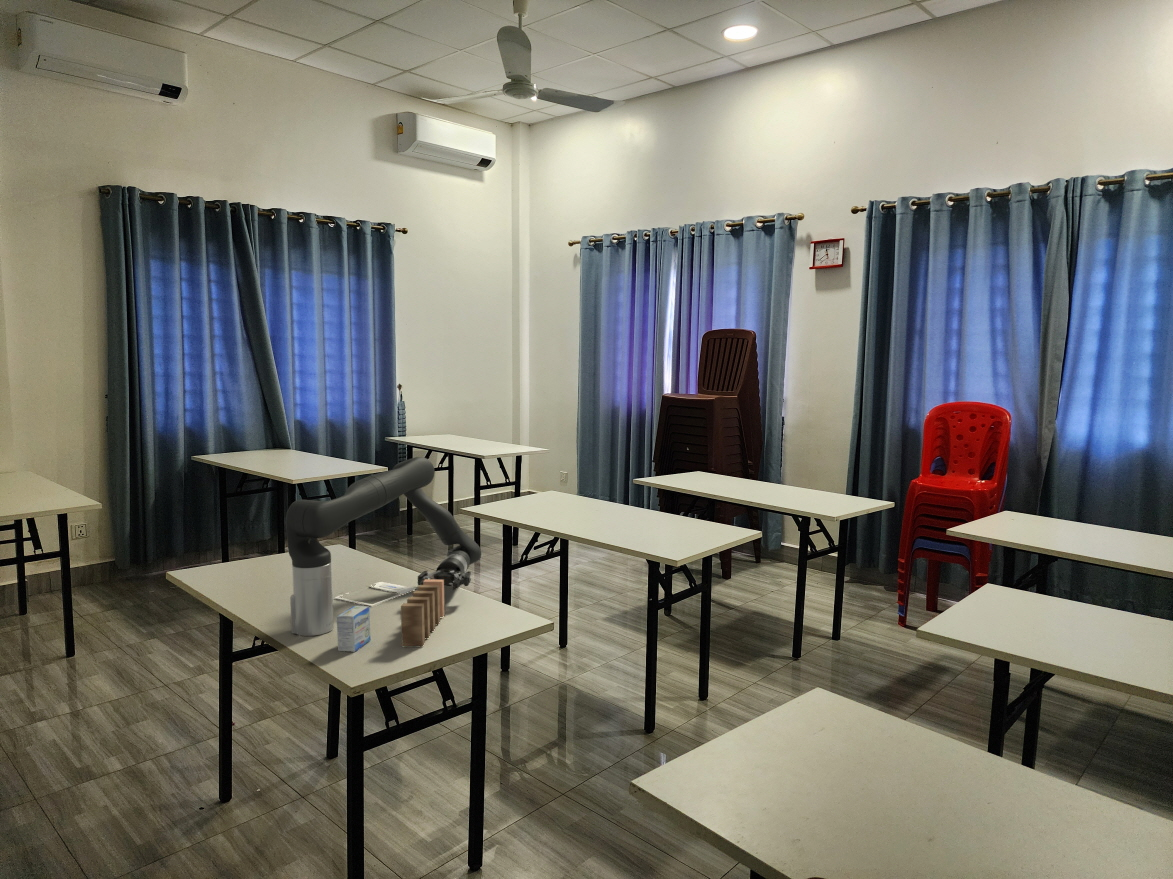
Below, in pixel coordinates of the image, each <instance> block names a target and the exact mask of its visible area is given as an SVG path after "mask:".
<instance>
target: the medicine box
mask: <svg viewBox="0 0 1173 879" xmlns="http://www.w3.org/2000/svg"><path fill="white" fill-rule="evenodd" d="M370 614H371V613H370V607H369V606H364V605H354V606H352V607H350V608H349V609H347V610H345V611H343V612H341V613H340V614H339V615H337V616H336V630H337V635H336V636H337V648H338V649H337V650H338V652H345V651H351V652H350V653H356V652H357V651H358V649H359V648H360V649H362V647H364V646H365V645H367V644H368V643H369V642H370V641H371V615H370ZM367 642H368V643H367ZM363 645H364V646H363ZM360 649H359V650H360ZM355 651H356V652H355Z"/></svg>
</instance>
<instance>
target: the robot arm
mask: <svg viewBox="0 0 1173 879" xmlns="http://www.w3.org/2000/svg"><path fill="white" fill-rule="evenodd" d="M434 477H435V466H434V464H433V462H431V461H430V459H428V458H427V457H424V456H423V457H422V456H417V457H412V458H409V459H406V460H404V461H401V462H398V463H397V464H395V465H394V466H393V467H392V469H389V470H386V471H382V472H378V473H375V474H371V475H368V476H366V477H364V478H361V479H358V480H356V481H354V482H353V483H351V484H350V485H349V486H348V487H347V489H346V491H345V493H344V494H343V495H342V496H340V497H337V498H333V499H331V500H330V499H329V500H313V499H312V500H311V499H298V500H295V501H294V502H292V503H291V504H290V505H289V507H288V508H287V512H286V515H285V532H286V539H287V540H286V541H287V542H286V543H287V551H288V554H289V557H290V559H291V568H292V587H293V588H292V589H293V590H292V591H293V594H291V596H290V598H289V602H290V621H291V622H290V623H291V624H290V626H291V629H290V630H291V634H296V635H299V636H303V637H304V636H305V637H311V636H312V637H313V636H318V635H319V636H320V635H323V634H327V633H329V632H330V631H332V630H333V629H334V605H333V604H334V603H333V577H332V576H333V575H332V574H333V573H332V554H331V551H330V550H329V549H328V548H326V547H325V546H324V545H322V544H321V543H320V541H319V540H318V539H323V538H325V537H328V536H330V535H333V533H335V532H337V531H338V530H340V528H342V527H344V526H345V525H347V524H349V523H350V522H351V521H354V520H357V519H359V518H360V517H364V516H365V515H367V514H369V513H372V512H374V511H375V510H378V509H381V508H382V507H384V506H385V505H388V504H389V503H392V502H394V501H395V500H396V499H397V498H399V497H401V496H402V495H403V496H405V498H406V499H407V500H408V501H409V502H410V503H411V504H412V505H413V506H414V508H415V509H416V510H418V512H419V513H420V514H421V515H422V516H423V518H425V519H426V521H427V522H428V523H429V525H430V526H431V527H432V529H433V531H434V532H435V534H436V536H437V537H438V538H439V540H440V541H441V542H442V544H443V545H445V546H451V545H452V546H453V545H456V546H455V547H453V548H451V549H449V550H448V551H447V553H446V557H445V558H444V559H443V560H442V561H441V562H440V564H439V565H438V566H437V568H436V570H435V571H433V572H430V573H429V572H428V570H424V571H422V572H421V573H419V574H418V575H417V586H418V587H419V586H420V585H423V581H424V580H425V579H435V580H444V587H452V591H457V589H459V588H460V587H462V586H464V587H469V585H470V583H471V581H472V572H471V571H469V567H470V565H472V564H474V563H476V562H479V561H480V559H481V558H482V550H481V547H480V546H479V544H478V543H476V541H475V540H474V539H473V538H471V537H470V536H468V534H467V533H465V532H464V530H463V529H462V528H461V527H460V526H459V524H458V522H457V520H456V519H455V517H454V516H453V515H452V513H451V512H450V511H449V510H448V509H446V508H445V507H444V506H442V505H441V504H439V503H438V502H437V501H435V500H433V499H432V498H430V496H428V495H427V494H426V493H425V492H424V491H423V489H422V488H424V487H427V486H428V485H430V483H432V481H433V480H434ZM467 570H468V571H467Z"/></svg>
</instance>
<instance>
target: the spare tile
mask: <svg viewBox="0 0 1173 879" xmlns="http://www.w3.org/2000/svg"><path fill="white" fill-rule="evenodd" d="M423 585H439V594H440V617H443V616H444V615H445V586H444V580H435V579H425V580H424V581H423ZM444 617H445V616H444Z"/></svg>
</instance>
